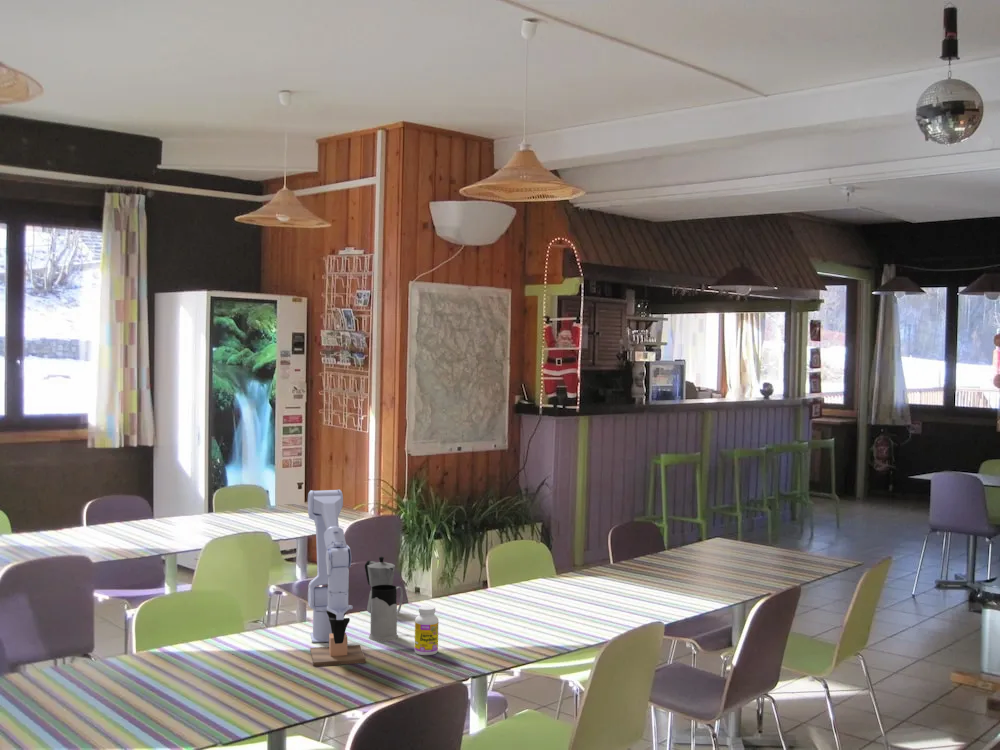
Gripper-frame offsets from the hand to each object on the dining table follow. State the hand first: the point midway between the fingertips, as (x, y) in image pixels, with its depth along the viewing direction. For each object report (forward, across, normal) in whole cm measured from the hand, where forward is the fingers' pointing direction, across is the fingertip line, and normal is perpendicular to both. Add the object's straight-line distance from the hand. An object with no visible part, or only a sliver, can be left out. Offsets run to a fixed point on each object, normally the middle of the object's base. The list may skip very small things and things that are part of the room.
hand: (337, 639), depth 270 cm
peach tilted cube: (+4, 0, 0) cm, 4 cm away
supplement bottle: (+5, -1, -25) cm, 26 cm away
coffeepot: (+5, +50, -18) cm, 53 cm away
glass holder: (+5, +19, -17) cm, 26 cm away
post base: (+5, 0, 0) cm, 5 cm away
